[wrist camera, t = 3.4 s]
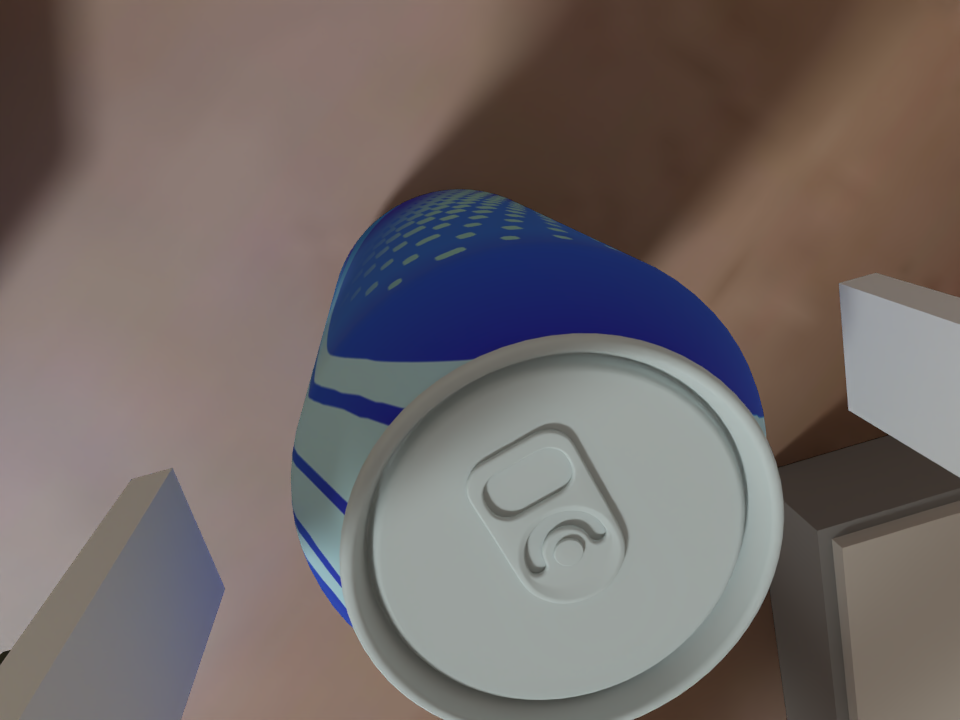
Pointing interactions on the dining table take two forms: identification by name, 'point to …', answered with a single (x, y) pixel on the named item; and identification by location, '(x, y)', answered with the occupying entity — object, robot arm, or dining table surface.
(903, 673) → the plinth
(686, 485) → the beer can
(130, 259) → the dining table surface
